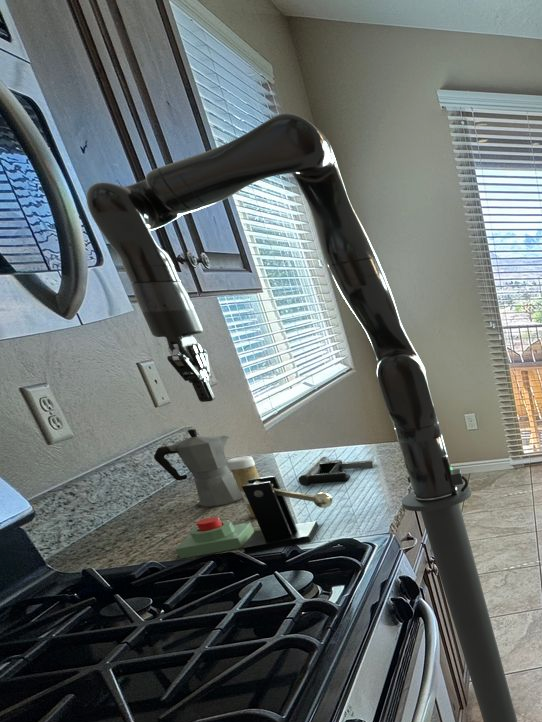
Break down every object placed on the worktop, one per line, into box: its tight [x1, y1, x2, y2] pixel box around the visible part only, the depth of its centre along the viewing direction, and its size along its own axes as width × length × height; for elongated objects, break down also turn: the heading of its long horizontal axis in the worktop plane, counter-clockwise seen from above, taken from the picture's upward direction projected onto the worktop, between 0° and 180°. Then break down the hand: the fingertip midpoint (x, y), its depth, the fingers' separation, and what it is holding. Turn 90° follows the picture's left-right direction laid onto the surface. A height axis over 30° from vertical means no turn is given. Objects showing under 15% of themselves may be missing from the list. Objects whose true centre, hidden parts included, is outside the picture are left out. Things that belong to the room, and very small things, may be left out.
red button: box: [195, 516, 222, 531], centre depth 113 cm, size 4×4×2 cm
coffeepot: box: [153, 428, 243, 508], centre depth 136 cm, size 15×9×18 cm, turn 158°
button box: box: [175, 520, 255, 560], centre depth 115 cm, size 10×9×4 cm
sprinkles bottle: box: [226, 455, 261, 519], centre depth 127 cm, size 5×5×14 cm
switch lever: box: [253, 481, 333, 509], centre depth 114 cm, size 13×3×3 cm, turn 114°
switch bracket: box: [242, 474, 319, 554], centre depth 114 cm, size 11×9×13 cm
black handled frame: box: [296, 456, 375, 487], centre depth 155 cm, size 3×20×16 cm
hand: (208, 400), depth 114 cm, fingers closed
